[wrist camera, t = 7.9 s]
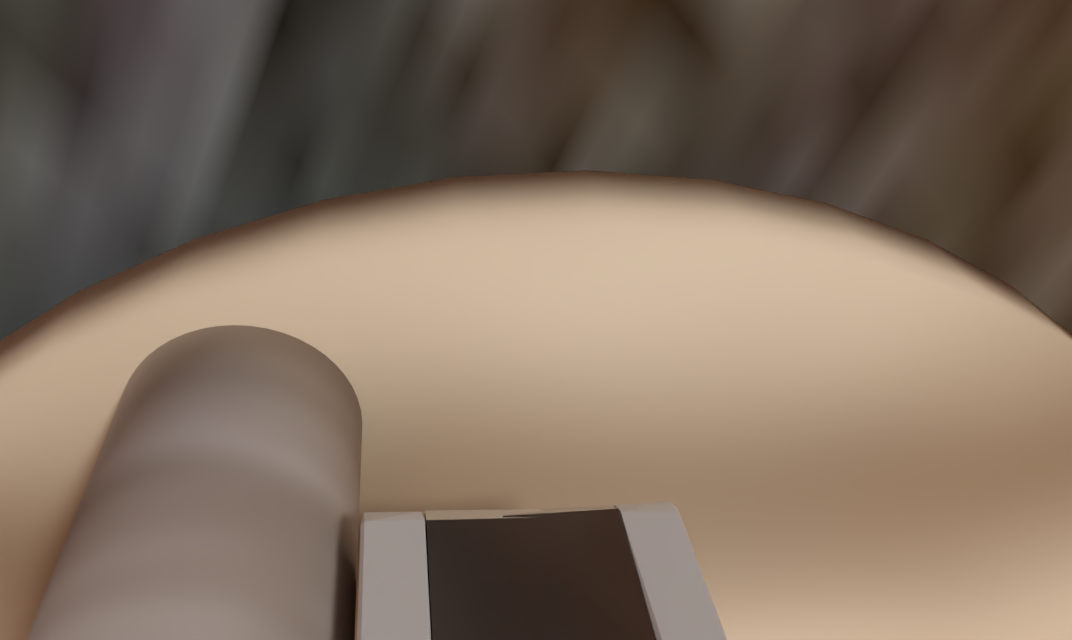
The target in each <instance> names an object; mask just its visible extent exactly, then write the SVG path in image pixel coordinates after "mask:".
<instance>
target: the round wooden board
mask: <svg viewBox="0 0 1072 640" xmlns="http://www.w3.org/2000/svg"><path fill="white" fill-rule="evenodd" d="M655 502H671V503H672V504H673V505H674V506H675V507H677V508H678V510H679V512H680V515H681V518H682V520H683V523H684V526H685V528H686V531H687V534H688V536H689V539H690V542H691V544H692V547H693V550H694V552H695V555H696V558H697V560H698V563H699V566H700V568H701V571H702V574H703V576H704V579H705V582H706V584H707V587H708V590H709V592H710V595H711V598H712V600H713V603H714V606H715V608H716V611H717V614H718V616H719V619H720V622H721V624H722V627H723V630H724V632H725V635H726V638H727V640H1072V334H1070V333H1069V332H1068V331H1067V330H1065V329H1064V328H1063V327H1062V326H1060V325H1059V324H1058V323H1057V322H1055V321H1054V320H1053V319H1052V318H1050V317H1049V316H1048V315H1047V314H1045V313H1044V312H1043V311H1042V310H1040V309H1039V308H1038V307H1037V306H1035V305H1034V304H1033V303H1032V302H1030V301H1029V300H1028V299H1027V298H1026V297H1024V296H1023V295H1022V294H1021V293H1019V292H1018V291H1017V290H1016V289H1014V288H1013V287H1012V286H1010V285H1008V284H1007V283H1005V282H1003V281H1001V280H999V279H998V278H996V277H994V276H992V275H990V274H988V273H987V272H985V271H983V270H981V269H979V268H978V267H976V266H974V265H972V264H970V263H968V262H967V261H965V260H963V259H961V258H959V257H958V256H956V255H954V254H952V253H950V252H949V251H947V250H945V249H943V248H941V247H939V246H938V245H936V244H934V243H932V242H930V241H929V240H926V239H924V238H921V237H918V236H915V235H913V234H910V233H907V232H904V231H901V230H899V229H896V228H893V227H890V226H888V225H885V224H882V223H879V222H877V221H874V220H871V219H868V218H866V217H863V216H860V215H857V214H855V213H852V212H849V211H846V210H843V209H841V208H838V207H835V206H832V205H830V204H827V203H822V202H817V201H812V200H807V199H803V198H798V197H793V196H788V195H783V194H779V193H774V192H769V191H764V190H759V189H755V188H750V187H745V186H740V185H735V184H731V183H726V182H721V181H716V180H710V179H696V178H683V177H669V176H655V175H642V174H628V173H615V172H601V171H588V170H585V171H565V172H546V173H526V174H507V175H487V176H467V177H453V178H447V179H441V180H435V181H430V182H424V183H418V184H413V185H407V186H401V187H395V188H390V189H384V190H378V191H372V192H367V193H361V194H355V195H349V196H344V197H338V198H332V199H327V200H321V201H318V202H315V203H312V204H308V205H305V206H302V207H298V208H295V209H292V210H289V211H285V212H282V213H279V214H275V215H272V216H269V217H266V218H262V219H259V220H256V221H252V222H249V223H246V224H243V225H239V226H236V227H233V228H229V229H226V230H223V231H220V232H216V233H213V234H210V235H206V236H203V237H200V238H196V239H194V240H192V241H189V242H187V243H185V244H183V245H180V246H178V247H176V248H174V249H172V250H169V251H167V252H165V253H163V254H160V255H158V256H156V257H154V258H152V259H149V260H147V261H145V262H143V263H140V264H138V265H136V266H134V267H132V268H129V269H127V270H125V271H123V272H120V273H118V274H116V275H114V276H112V277H109V278H107V279H105V280H103V281H100V282H98V283H96V284H94V285H92V286H89V287H87V288H85V289H83V290H80V291H78V292H77V293H75V294H73V295H72V296H70V297H69V298H67V299H65V300H64V301H62V302H61V303H59V304H57V305H56V306H54V307H53V308H51V309H49V310H48V311H46V312H45V313H43V314H42V315H40V316H38V317H37V318H35V319H34V320H32V321H30V322H29V323H27V324H26V325H24V326H22V327H21V328H19V329H18V330H16V331H14V332H13V333H11V334H10V335H8V336H6V337H5V338H3V339H2V340H0V640H357V619H358V589H359V559H360V529H361V522H362V518H363V513H364V512H423V514H424V518H425V510H510V509H547V508H570V507H594V506H612V507H613V506H614V505H618V504H637V503H655Z"/></svg>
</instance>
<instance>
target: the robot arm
mask: <svg viewBox="0 0 1072 640" xmlns="http://www.w3.org/2000/svg"><path fill="white" fill-rule="evenodd" d="M357 640H727V638H726V635H725V632H724V630H723V627H722V624H721V622H720V619H719V616H718V614H717V611H716V608H715V606H714V603H713V600H712V598H711V595H710V592H709V590H708V587H707V584H706V582H705V579H704V576H703V574H702V571H701V568H700V566H699V563H698V560H697V558H696V555H695V552H694V550H693V547H692V544H691V542H690V539H689V536H688V534H687V531H686V528H685V526H684V523H683V520H682V518H681V515H680V512H679V510H678V508H677V507H675V506H674V505H673V504H672V503H671V502H655V503H637V504H618V505H614V506H613V507H612V506H594V507H570V508H547V509H510V510H425V518H424V514H423V512H364V513H363V518H362V522H361V529H360V559H359V589H358V619H357Z"/></svg>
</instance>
